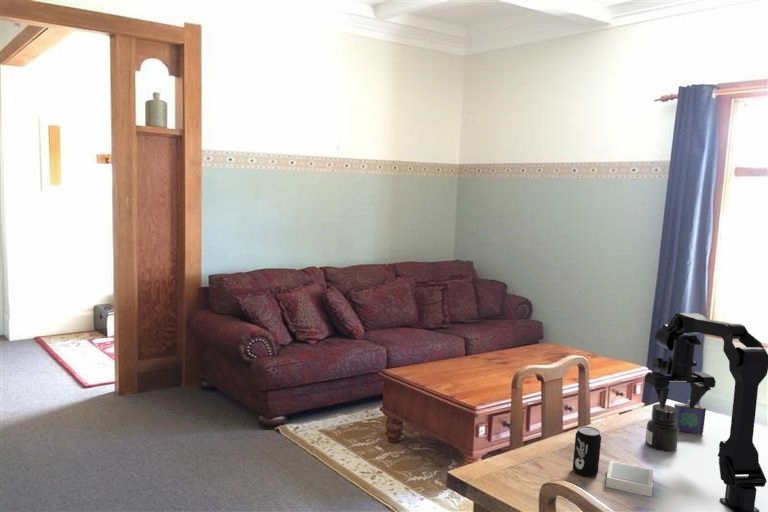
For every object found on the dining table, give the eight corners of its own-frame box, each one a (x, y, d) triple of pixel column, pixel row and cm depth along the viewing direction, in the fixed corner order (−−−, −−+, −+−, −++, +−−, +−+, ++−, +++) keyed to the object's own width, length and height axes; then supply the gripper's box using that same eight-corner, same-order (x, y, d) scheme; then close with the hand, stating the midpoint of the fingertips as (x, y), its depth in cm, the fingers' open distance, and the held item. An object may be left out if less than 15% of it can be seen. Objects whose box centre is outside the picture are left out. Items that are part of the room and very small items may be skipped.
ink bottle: (650, 437, 199) (654, 400, 197) (680, 445, 193) (685, 407, 192) (640, 446, 191) (644, 408, 190) (671, 455, 186) (675, 416, 184)
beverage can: (599, 479, 169) (603, 436, 167) (573, 476, 170) (577, 433, 168) (596, 468, 175) (600, 427, 174) (571, 465, 176) (575, 424, 175)
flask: (672, 431, 204) (676, 399, 203) (670, 428, 207) (674, 396, 205) (703, 436, 202) (707, 403, 200) (701, 432, 205) (705, 400, 203)
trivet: (652, 478, 171) (653, 469, 171) (651, 496, 161) (652, 487, 160) (609, 469, 175) (609, 460, 175) (605, 486, 165) (606, 476, 165)
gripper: (695, 347, 191) (689, 397, 193) (637, 347, 188) (631, 398, 190) (720, 359, 180) (713, 412, 182) (659, 359, 177) (652, 412, 179)
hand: (676, 408), depth 184 cm, fingers open, 9 cm apart
